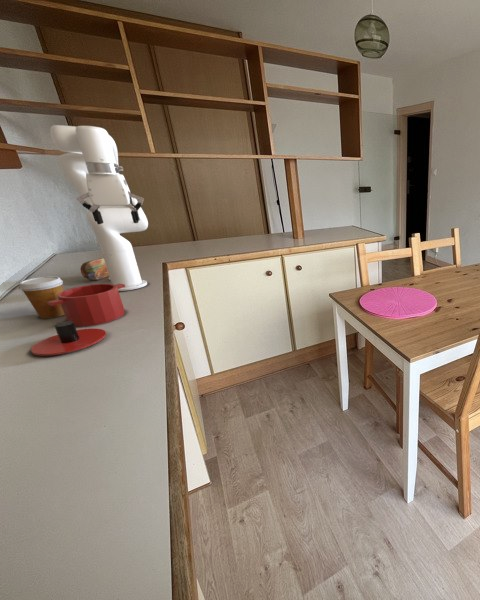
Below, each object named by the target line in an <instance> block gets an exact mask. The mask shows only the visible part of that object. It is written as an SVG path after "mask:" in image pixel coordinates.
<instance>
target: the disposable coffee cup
mask: <svg viewBox="0 0 480 600" xmlns="http://www.w3.org/2000/svg"><path fill="white" fill-rule="evenodd" d="M63 282H64V280H62V279H61V277H60V276H53V275H52V276H51V275H50V276H39V277H34V278H33V277H32V278H28V279H25V280H22V281H20V282H19V286H18V289H19V290H21V291H22V292H23V294H24V295H25V296H26V298H27V300H28V301H29V302H30V305H32V307H33V309H34V310H35V312H36V314H37V315H38V316H39V318H40V319H51V318H58V317H62V316H65V314H64V311H63V309H62V306H61V304H59V305H56V306H51V305H48V303H47V302H49V301H53V300H57V299H58V296H57V294H59V293H60V292H62V291H64V288H63Z"/></svg>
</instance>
